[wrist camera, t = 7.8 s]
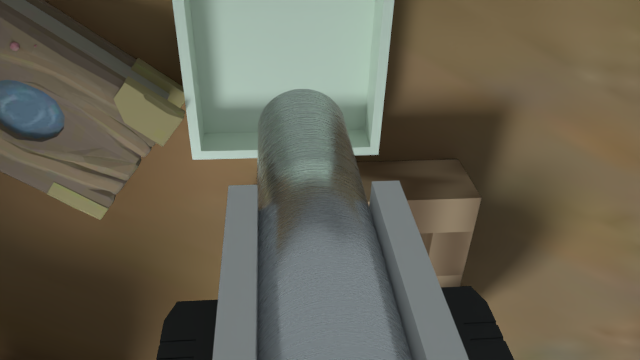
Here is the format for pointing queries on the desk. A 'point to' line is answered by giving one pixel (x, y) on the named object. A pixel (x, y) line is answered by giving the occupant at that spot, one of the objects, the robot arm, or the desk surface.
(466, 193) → the block
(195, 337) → the robot arm
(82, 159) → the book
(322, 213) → the lock pin
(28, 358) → the desk surface
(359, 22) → the tray
